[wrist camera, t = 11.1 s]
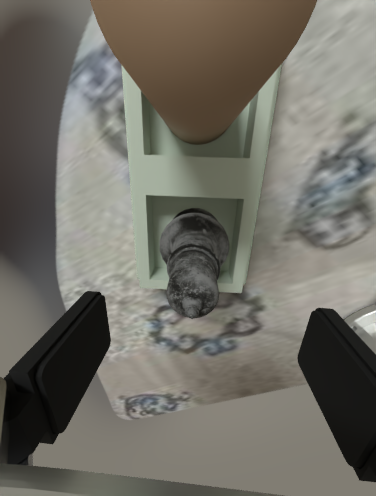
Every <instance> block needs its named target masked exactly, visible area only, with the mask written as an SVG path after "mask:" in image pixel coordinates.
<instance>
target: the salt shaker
mask: <svg viewBox="0 0 376 496" xmlns="http://www.w3.org/2000/svg"><path fill="white" fill-rule="evenodd" d="M159 243H160V253H161V256H162V259H163V260H164V262H165V263H166V265H167V273H168V276H169V282H168V286H167V299H168V302H169V304H170V306H171V307H172V308H173V309H174V310H175V311H176V312H177V313H179V314H181V315H182V316H185V317H189V318H191V319H193V318H199V317H202V316H205V315H207V314H208V313H210V312H211V311H212V310H213V309H214V308H215V306H216V304H217V302H218V298H219V289H218V284H217V280H218V278H219V275H220V269H221V266H222V265H223V263H224V262H225V261H226V258H227V256H228V253H229V245H230V244H229V239H228V235H227V233H226V231H225V229H224V227H223V226H222V225H221V224H220V223H219V222H218V221H217V219H216V218H215V217H214V216H213V215H212V214H211V213H210V212H208V211H206V210H203V209H200V208H190V209H186V210H183V211H182V212H180V213H178V214H177V215H176V216H175V217H174V218H173V220H172V221H171V222H170V223H169V224H168V225H167V226H166V227H165V229H164V230H163V232H162V234H161V238H160V242H159Z"/></svg>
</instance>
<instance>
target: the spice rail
mask: <svg viewBox="0 0 376 496" xmlns="http://www.w3.org/2000/svg"><path fill="white" fill-rule="evenodd" d="M90 1H91V5H92V8H93V10H94V13H95V16H96V19H97V22H98V24H99V27H100V29H101V31H102V33H103V35H104V37H105V40H106V41H107V43H108V45H109V46H110V48H111V50H112V52H113V53H114V55H115V56H116V58H117V59H118V60H119V62H120V63H121V64H122V78H123V91H124V105H125V119H126V133H127V146H128V160H129V174H130V187H131V201H132V215H133V228H134V242H135V256H136V270H137V279H139V282H140V288H151V289H167V286H168V282H169V276H168V273H167V265H166V263H165V262H164V260H163V259H162V256H161V253H160V243H159V242H160V238H161V234H162V232H163V230H164V229H165V227H166V226H167V225H168V224H169V223H170V222H171V221H172V220H173V218H174V217H175V216H176V215H177V214H178V213H180V212H182V211H183V210H186V209H190V208H200V209H203V210H206V211H208V212H210V213H211V214H212V215H213V216H214V217H215V218H216V219H217V221H218V222H219V223H220V224H221V225H222V226H223V227H224V229H225V231H226V233H227V235H228V239H229V244H230V245H229V253H228V256H227V258H226V261H225V262H224V263H223V265H222V266H221V269H220V275H219V278H218V280H217V284H218V289H219V292H229V293H242V288H243V284H246V278H247V272H248V266H249V260H250V254H251V248H252V242H253V236H254V230H255V224H256V218H257V212H258V205H259V199H260V193H261V187H262V181H263V175H264V169H265V163H266V157H267V151H268V145H269V139H270V133H271V127H272V121H273V115H274V109H275V103H276V96H277V90H278V84H279V78H280V72H281V66H282V63H283V61H284V60H285V59H286V58H287V56H288V55H289V53H290V52H291V51H292V49H293V48H294V46H295V45H296V43H297V42H298V40H299V38H300V36H301V35H302V33H303V31H304V29H305V27H306V26H307V23H308V21H309V19H310V17H311V14H312V12H313V10H314V8H315V5H316V2H317V0H90Z"/></svg>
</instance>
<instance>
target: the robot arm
mask: <svg viewBox="0 0 376 496" xmlns="http://www.w3.org/2000/svg"><path fill="white" fill-rule="evenodd" d="M110 342H111V339H110V331H109V324H108V317H107V310H106V302H105V297H104V296H103V295H101V293H100V292H92V291H87V292H85V293H84V294H83V295H82V296H81V297H80V298H79V299H78V300H77V301H76V302H75V303H74V305H73V306H72V307H71V308H70V309H69V310H68V311H67V312H66V313H65V314H64V315H63V316H62V317H61V318H60V319H59V320H58V321H57V322H56V323H55V324H54V325H53V326H52V327H51V328H50V329H49V330H48V331H47V332H46V333H45V334H44V336H43V337H42V338H41V339H40V340H39V341H38V342H37V343H36V344H35V345H34V346H33V347H32V348H31V349H30V350H29V351H28V352H27V353H26V354H25V355H24V356H23V357H22V358H21V359H20V360H19V361H18V362H17V363H16V364H15V366H13V367H12V369H11V370H10V371H9V374H8V375H7V376H6V377H5V378H4V379H3V378H2V377H0V496H283V495H274V494H267V493H259V492H251V491H242V490H235V489H227V488H219V487H211V486H202V485H195V484H186V483H179V482H171V481H163V480H155V479H146V478H138V477H129V476H121V475H112V474H104V473H95V472H87V471H78V470H69V469H59V468H47V467H38V466H33V452H34V451H35V449H36V447H37V446H38V444H39V443H47V444H53V443H54V442H55V440H56V438H57V436H58V434H59V433H62V432H64V430H65V429H66V427H67V426H68V424H69V422H70V420H71V418H72V416H73V414H74V412H75V411H76V409H77V407H78V405H79V403H80V401H81V399H82V397H83V396H84V394H85V392H86V390H87V388H88V386H89V384H90V382H91V381H92V379H93V377H94V375H95V373H96V371H97V369H98V367H99V366H100V364H101V362H102V360H103V358H104V356H105V354H106V352H107V351H108V349H109V346H110ZM298 363H299V366H300V368H301V370H302V372H303V374H304V376H305V378H306V380H307V382H308V384H309V386H310V388H311V390H312V392H313V395H314V397H315V398H316V401H317V402H318V405H319V406H320V409H321V411H322V413H323V415H324V417H325V419H326V421H327V423H328V425H329V427H330V429H331V431H332V433H333V435H334V438H335V440H336V442H337V444H338V446H339V448H340V450H341V452H342V454H343V456H344V458H345V460H346V462H347V463H348V464H349V465H350V466H352V467H353V468H354V470H355V472H356V474H357V476H358V478H359V480H361V481H371V482H376V304H375V305H372V306H369V307H366V308H363V309H361V310H359V311H357V312H355V313H353V314H352V315H350V316H349V317H347V318H346V319H344V320H343V319H342V318H341V317H340V316H339V314H338V313H337V312H336V311H335V310H333V309H327V308H317V309H316V310H315V311H313V312H312V313H311V316H310V319H309V322H308V325H307V328H306V331H305V335H304V338H303V341H302V344H301V347H300V350H299V354H298Z"/></svg>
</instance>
